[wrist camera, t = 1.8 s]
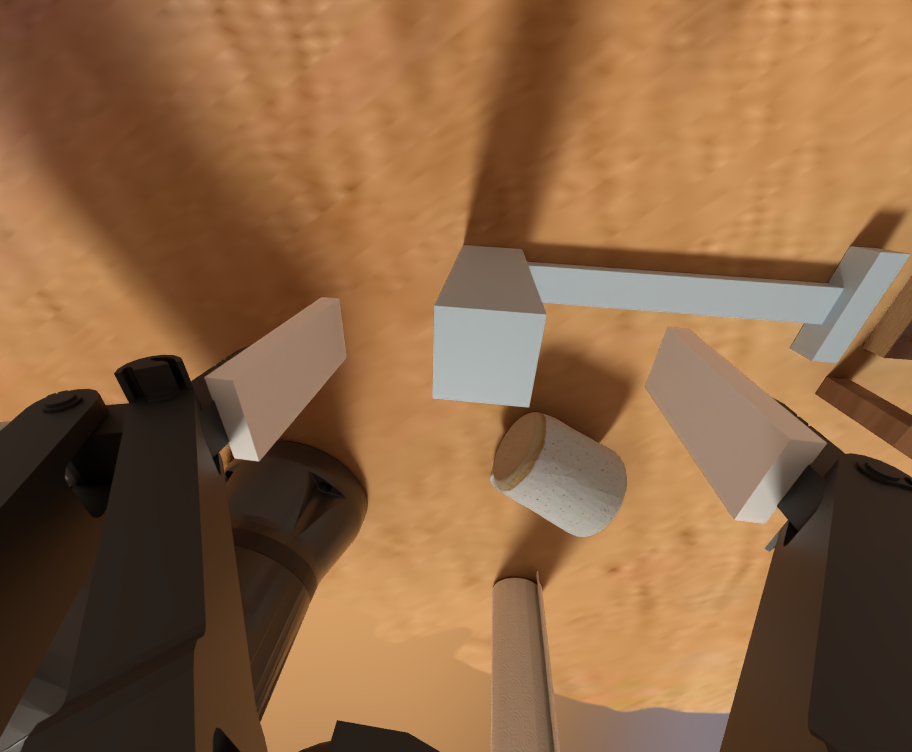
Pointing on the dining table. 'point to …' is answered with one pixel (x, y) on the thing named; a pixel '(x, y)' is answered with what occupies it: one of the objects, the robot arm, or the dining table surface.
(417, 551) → the dining table surface
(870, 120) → the dining table surface
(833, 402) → the walnut table
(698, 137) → the dining table surface
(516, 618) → the paper towel roll
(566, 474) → the ceramic mug
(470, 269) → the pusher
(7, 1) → the dining table surface
